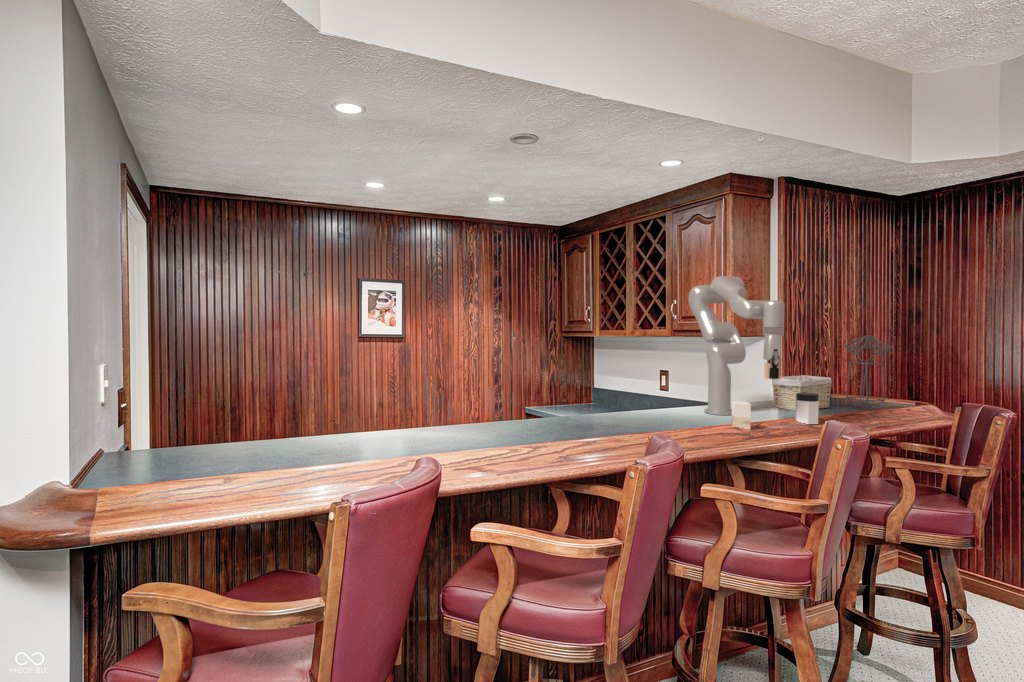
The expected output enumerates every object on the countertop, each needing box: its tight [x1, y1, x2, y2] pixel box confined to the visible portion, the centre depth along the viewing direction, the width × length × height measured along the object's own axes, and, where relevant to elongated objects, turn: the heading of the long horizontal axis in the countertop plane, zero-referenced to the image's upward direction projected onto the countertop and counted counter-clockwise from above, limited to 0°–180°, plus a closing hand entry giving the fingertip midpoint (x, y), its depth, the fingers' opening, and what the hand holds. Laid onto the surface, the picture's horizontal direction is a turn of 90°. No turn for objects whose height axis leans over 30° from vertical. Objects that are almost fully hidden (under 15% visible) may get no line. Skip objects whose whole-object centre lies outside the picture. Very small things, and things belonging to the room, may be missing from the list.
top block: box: [763, 362, 782, 380], centre depth 229 cm, size 5×5×6 cm
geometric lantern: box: [843, 334, 893, 410], centre depth 274 cm, size 16×16×35 cm
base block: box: [731, 415, 752, 430], centre depth 223 cm, size 6×6×5 cm
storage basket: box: [771, 374, 833, 411], centre depth 276 cm, size 24×16×15 cm
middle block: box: [731, 401, 752, 417], centre depth 223 cm, size 6×6×5 cm
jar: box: [795, 393, 820, 425], centre depth 235 cm, size 9×8×12 cm
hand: (772, 377), depth 229 cm, fingers closed on top block, 4 cm apart
